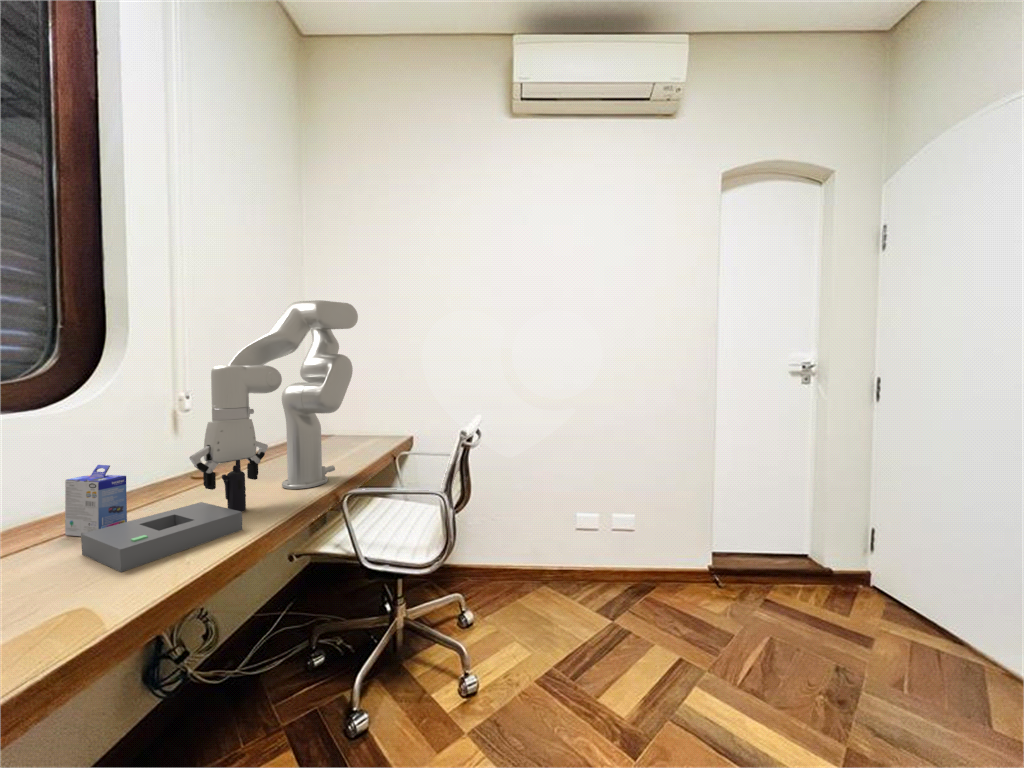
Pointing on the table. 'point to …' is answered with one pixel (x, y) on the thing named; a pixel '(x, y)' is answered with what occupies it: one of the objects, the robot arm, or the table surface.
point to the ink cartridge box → (94, 502)
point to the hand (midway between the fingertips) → (232, 483)
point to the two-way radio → (235, 488)
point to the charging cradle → (159, 535)
